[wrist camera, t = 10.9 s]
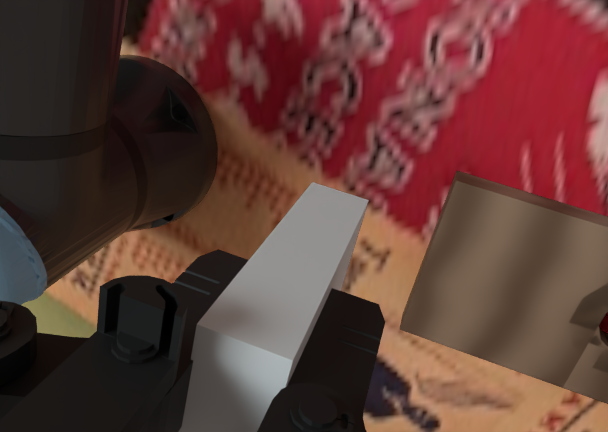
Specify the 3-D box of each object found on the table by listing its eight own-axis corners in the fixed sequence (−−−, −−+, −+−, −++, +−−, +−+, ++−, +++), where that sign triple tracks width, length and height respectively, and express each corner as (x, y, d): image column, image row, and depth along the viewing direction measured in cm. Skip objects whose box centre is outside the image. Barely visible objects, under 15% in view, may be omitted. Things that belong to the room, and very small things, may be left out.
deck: (402, 313, 48) (399, 329, 46) (456, 170, 42) (456, 180, 40) (659, 404, 45) (669, 426, 42) (758, 262, 39) (775, 279, 36)
